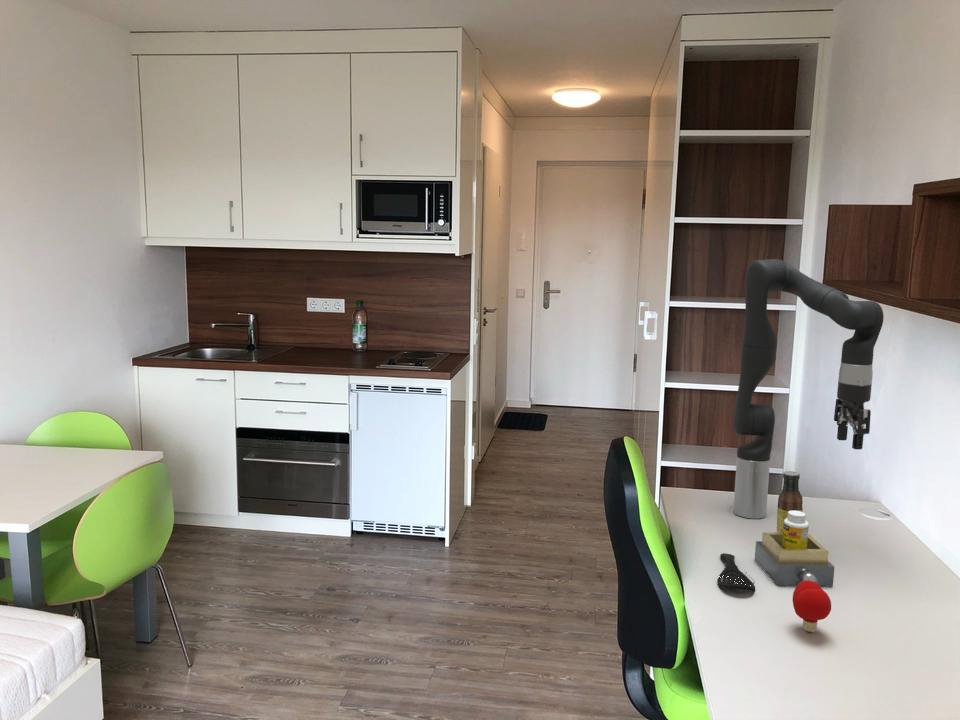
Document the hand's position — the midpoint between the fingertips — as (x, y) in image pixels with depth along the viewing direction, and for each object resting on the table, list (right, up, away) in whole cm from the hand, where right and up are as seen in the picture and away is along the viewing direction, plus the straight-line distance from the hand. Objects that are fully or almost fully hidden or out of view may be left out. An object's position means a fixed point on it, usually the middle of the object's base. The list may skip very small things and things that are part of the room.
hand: (849, 444), depth 192 cm
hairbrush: (-32, -31, -8) cm, 46 cm away
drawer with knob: (-17, -31, -8) cm, 36 cm away
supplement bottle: (-17, -26, -7) cm, 32 cm away
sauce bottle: (-11, -28, +11) cm, 32 cm away
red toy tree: (-25, -35, -35) cm, 56 cm away
